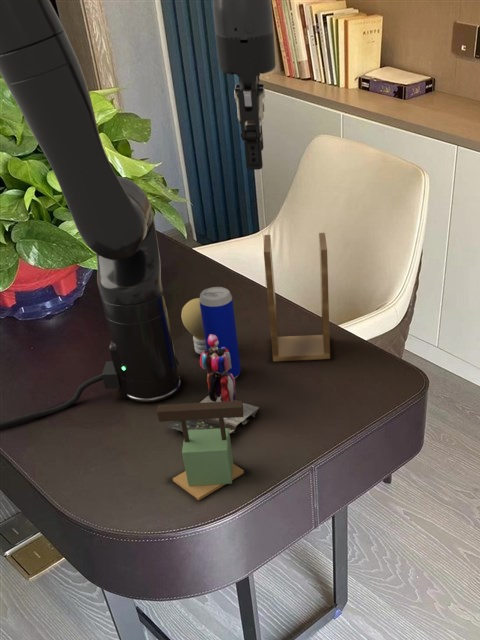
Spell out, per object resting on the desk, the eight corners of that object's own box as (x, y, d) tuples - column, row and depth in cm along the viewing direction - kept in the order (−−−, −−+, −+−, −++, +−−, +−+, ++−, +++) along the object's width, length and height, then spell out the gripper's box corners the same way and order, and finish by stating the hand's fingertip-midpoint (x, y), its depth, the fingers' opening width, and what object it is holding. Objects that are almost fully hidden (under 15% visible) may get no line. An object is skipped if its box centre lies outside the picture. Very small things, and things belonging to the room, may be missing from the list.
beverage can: (244, 367, 125) (234, 286, 115) (237, 383, 121) (227, 301, 111) (214, 365, 125) (203, 285, 116) (207, 382, 121) (194, 300, 112)
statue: (212, 404, 118) (205, 317, 110) (259, 419, 115) (256, 330, 107) (167, 432, 110) (157, 341, 102) (217, 449, 107) (210, 356, 98)
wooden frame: (273, 361, 126) (263, 251, 114) (273, 341, 132) (264, 234, 119) (330, 359, 127) (327, 249, 114) (328, 339, 132) (324, 232, 119)
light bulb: (231, 348, 130) (224, 297, 123) (207, 364, 126) (199, 312, 119) (204, 339, 132) (196, 288, 126) (180, 354, 128) (171, 303, 122)
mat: (199, 500, 98) (198, 497, 98) (172, 481, 102) (172, 478, 101) (244, 473, 103) (243, 470, 103) (217, 455, 106) (217, 452, 106)
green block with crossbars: (170, 487, 100) (155, 419, 92) (173, 464, 104) (159, 397, 96) (250, 482, 100) (241, 414, 93) (250, 460, 104) (242, 393, 97)
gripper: (218, 21, 99) (231, 145, 109) (211, 40, 88) (226, 176, 98) (273, 20, 100) (281, 144, 110) (273, 38, 89) (281, 174, 99)
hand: (255, 159), depth 104 cm, fingers open, 8 cm apart
